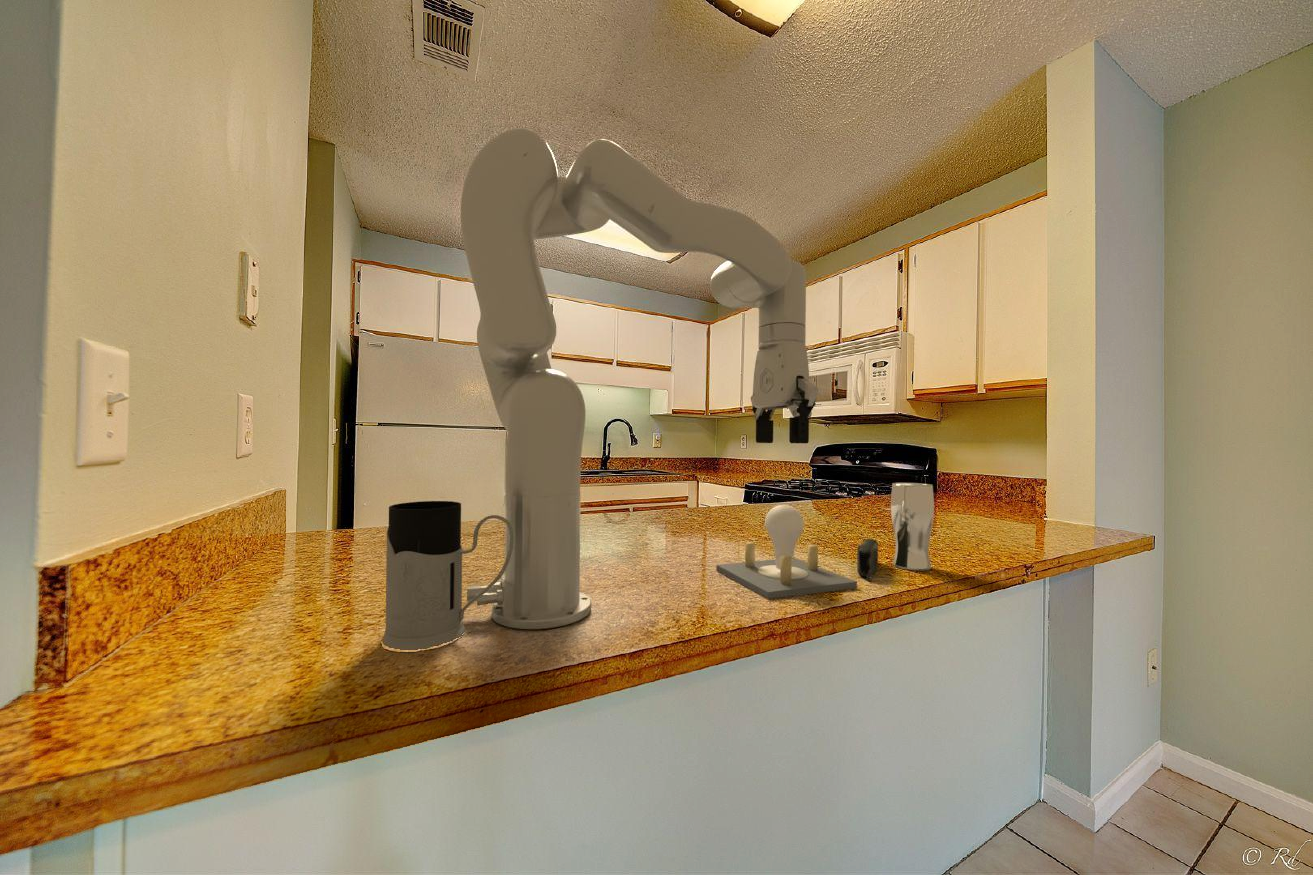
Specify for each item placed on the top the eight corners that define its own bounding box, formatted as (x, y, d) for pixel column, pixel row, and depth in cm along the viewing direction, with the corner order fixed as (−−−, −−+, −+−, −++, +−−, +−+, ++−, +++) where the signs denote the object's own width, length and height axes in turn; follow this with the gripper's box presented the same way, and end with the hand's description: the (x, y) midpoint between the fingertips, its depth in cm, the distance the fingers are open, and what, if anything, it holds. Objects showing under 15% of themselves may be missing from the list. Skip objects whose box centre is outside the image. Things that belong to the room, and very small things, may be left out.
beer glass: (882, 564, 89) (882, 483, 89) (907, 560, 92) (908, 482, 92) (916, 573, 83) (916, 486, 83) (942, 569, 86) (942, 485, 86)
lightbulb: (807, 578, 75) (808, 508, 75) (768, 577, 76) (768, 507, 76) (798, 567, 81) (798, 502, 81) (761, 566, 82) (762, 502, 82)
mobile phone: (861, 536, 92) (855, 549, 79) (878, 537, 91) (875, 551, 77) (861, 562, 92) (855, 580, 79) (878, 564, 91) (875, 582, 77)
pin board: (767, 598, 69) (768, 564, 69) (716, 570, 84) (716, 541, 84) (856, 588, 74) (857, 555, 74) (793, 563, 89) (793, 536, 89)
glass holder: (401, 622, 59) (402, 500, 59) (519, 619, 60) (520, 499, 60) (364, 654, 50) (366, 510, 50) (504, 649, 52) (505, 509, 52)
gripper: (735, 347, 86) (734, 442, 86) (794, 325, 70) (793, 443, 70) (771, 350, 89) (770, 443, 89) (836, 330, 73) (835, 443, 72)
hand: (780, 443), depth 79 cm, fingers open, 9 cm apart
